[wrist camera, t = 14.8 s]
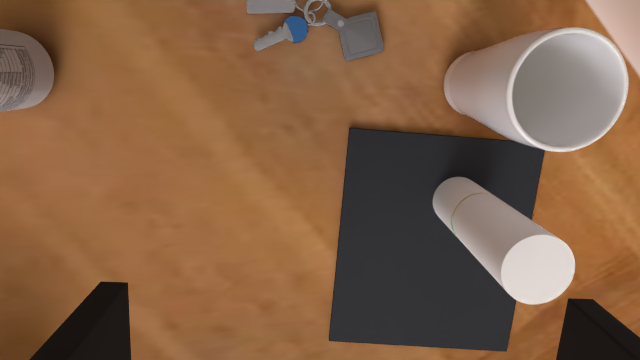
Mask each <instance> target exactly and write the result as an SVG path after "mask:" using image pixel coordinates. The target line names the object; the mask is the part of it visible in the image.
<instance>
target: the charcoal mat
mask: <svg viewBox="0 0 640 360" xmlns="http://www.w3.org/2000/svg"><path fill="white" fill-rule="evenodd" d="M544 152H545V150H543V149H539V148H534V147H531V146H527V145H524V144H521V143H518V142H515V141H508V140H495V139H483V138H471V137H458V136H446V135H434V134H421V133H409V132H396V131H384V130H372V129H359V128H349V138H348V149H347V159H346V169H345V179H344V190H343V200H342V210H341V220H340V231H339V241H338V251H337V261H336V272H335V282H334V292H333V302H332V313H331V323H330V333H329V341H337V342H354V343H371V344H388V345H405V346H422V347H439V348H456V349H473V350H490V351H507V347H508V341H509V336H510V331H511V325H512V320H513V315H514V310H515V304H516V300H515V299H514V298H513V297H511V296H510V295H509V294H508V293H507V292H506V291H505V289H504V288H503V287H502V286H501V285H500V284H499V283H498V282H497V281H496V280H495V278H494V277H493V276H492V275H491V274H490V273H489V272H488V271H487V270H486V269H485V267H484V266H483V265H482V264H481V263H480V262H479V261H478V260H477V259H476V258H475V256H474V255H473V254H472V253H471V252H470V251H469V250H468V249H467V248H466V246H465V245H464V244H463V243H462V242H461V241H460V240H459V239H458V238H457V237H456V235H455V234H454V233H453V232H452V231H451V230H450V229H449V228H448V227H447V226H446V224H445V223H444V222H443V221H442V220H441V219H440V218H439V217H438V215H437V214H436V213H435V210H434V208H433V196H434V193H435V191H436V189H437V188H438V186H439V185H440V184H441V183H443V182H444V181H445V180H447V179H449V178H453V177H465V178H468V179H470V180H472V181H473V182H475V183H476V184H478V185H479V186H481V187H482V188H484V189H485V190H487V191H488V192H490V193H491V194H493V195H494V196H496V197H497V198H499V199H500V200H502V201H503V202H505V203H506V204H508V205H509V206H511V207H512V208H514V209H515V210H517V211H518V212H520V213H521V214H523V215H524V216H526V217H527V218H529V219H530V220H532V215H533V210H534V204H535V199H536V194H537V188H538V183H539V178H540V173H541V167H542V162H543V157H544Z"/></svg>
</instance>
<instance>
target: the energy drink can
mask: <svg viewBox="0 0 640 360" xmlns="http://www.w3.org/2000/svg"><path fill="white" fill-rule="evenodd" d="M53 81H54V68H53V65H52V61H51V59H50V57H49V55H48V53H47V51H46V50H45V49H44V47H43V46H42V45H41V44H40V43H39V42H38V41H36V40H35V39H34V38H32V37H31V36H29V35H26V34H24V33H21V32H17V31H11V30H4V29H0V112H1V111H8V110H16V109H23V108H30V107H32V106H35V105H37V104H39V103H40V102H42V101H43V100H44V99H45V98H46V97H47V95H48V94H49V92H50V91H51V88H52V85H53Z"/></svg>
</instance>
